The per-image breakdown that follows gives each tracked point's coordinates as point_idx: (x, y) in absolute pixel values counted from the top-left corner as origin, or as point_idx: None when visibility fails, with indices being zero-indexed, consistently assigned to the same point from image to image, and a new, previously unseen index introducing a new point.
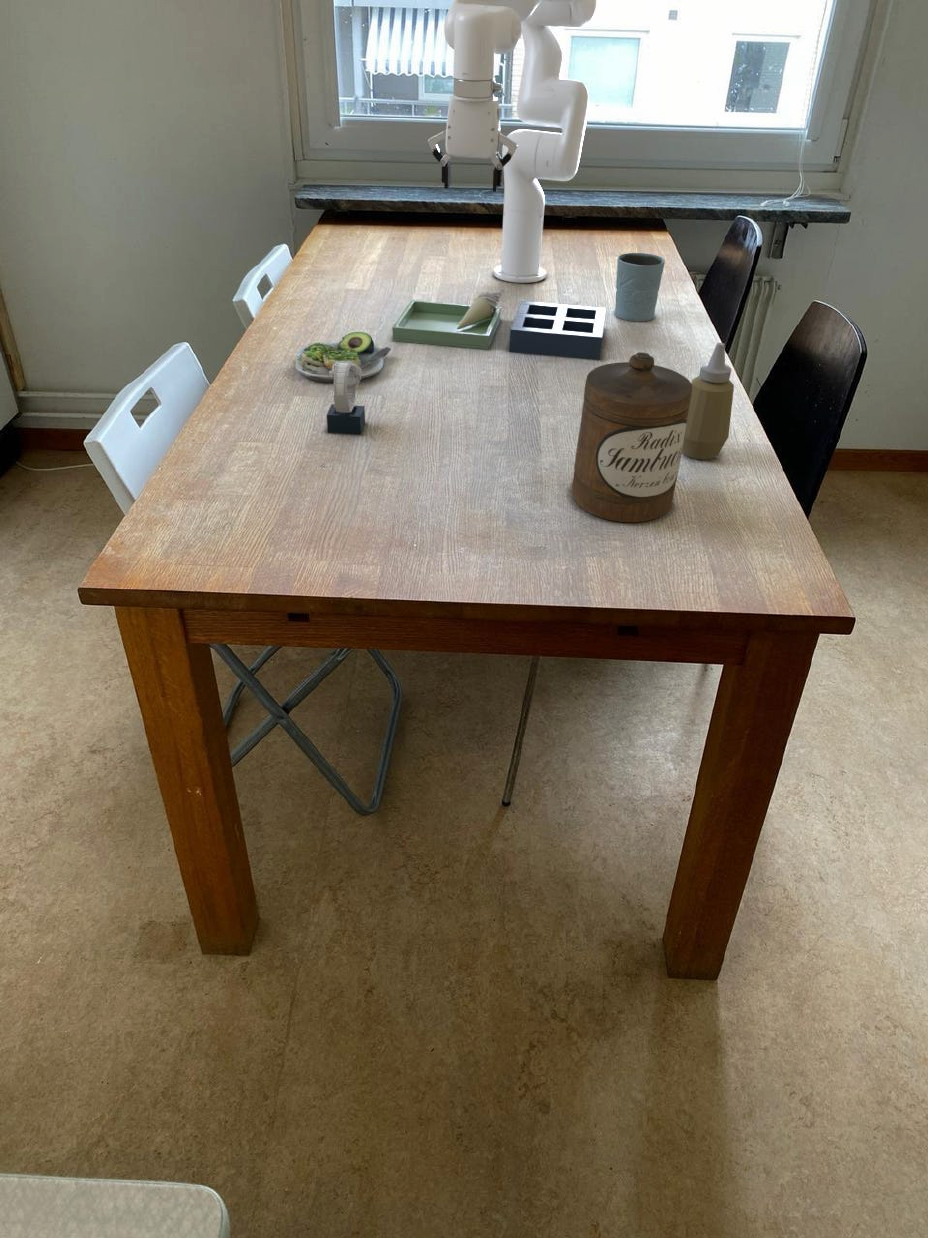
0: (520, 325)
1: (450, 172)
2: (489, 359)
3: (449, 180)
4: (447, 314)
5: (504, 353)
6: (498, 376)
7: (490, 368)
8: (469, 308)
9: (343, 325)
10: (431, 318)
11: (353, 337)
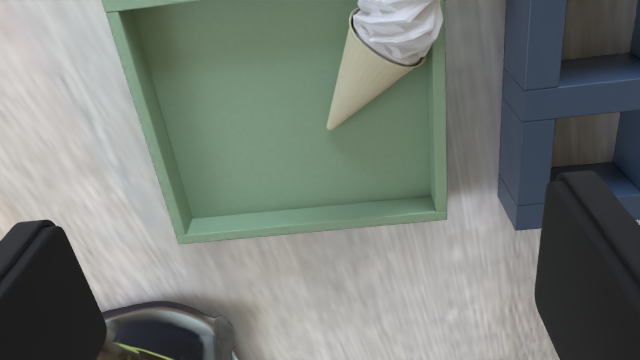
0: (543, 193)
1: (2, 323)
2: (454, 252)
3: (61, 311)
4: None
5: (486, 208)
6: (488, 323)
7: (464, 294)
8: (349, 78)
9: (8, 167)
10: (214, 48)
11: (142, 350)
